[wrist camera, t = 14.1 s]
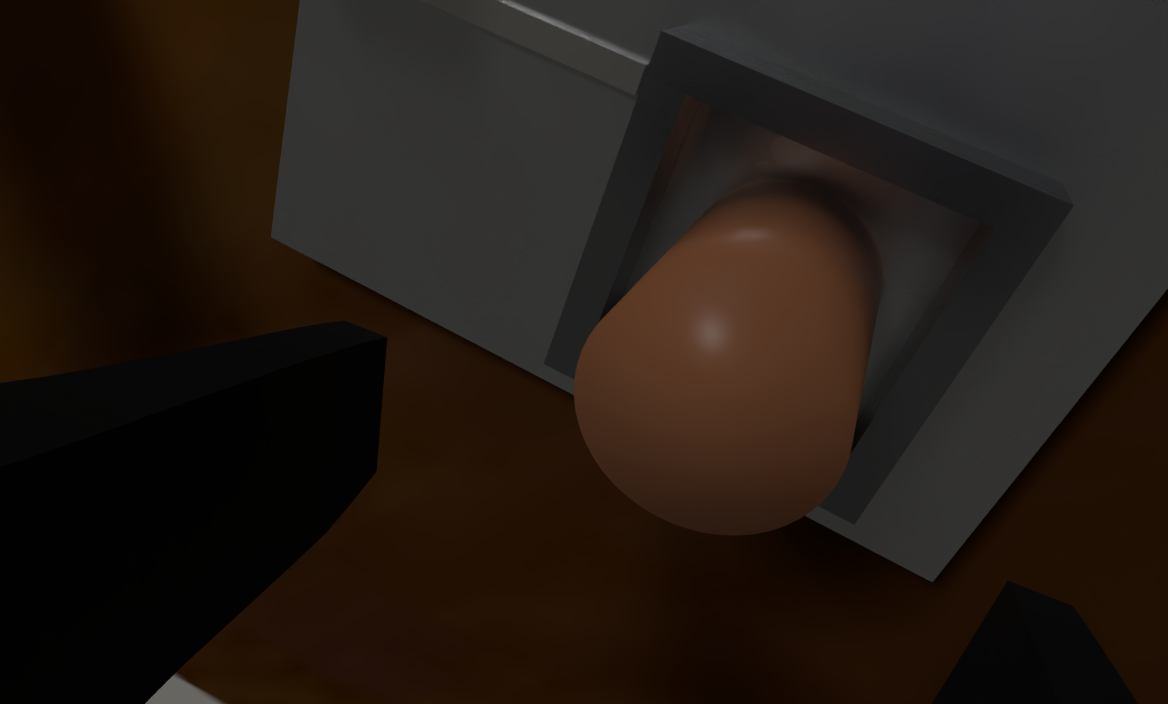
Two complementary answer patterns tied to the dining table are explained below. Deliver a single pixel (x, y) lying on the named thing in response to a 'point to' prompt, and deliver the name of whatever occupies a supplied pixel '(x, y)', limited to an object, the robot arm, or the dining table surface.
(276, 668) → the dining table surface
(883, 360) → the breaker panel
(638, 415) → the brown egg
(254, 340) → the robot arm
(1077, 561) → the dining table surface
